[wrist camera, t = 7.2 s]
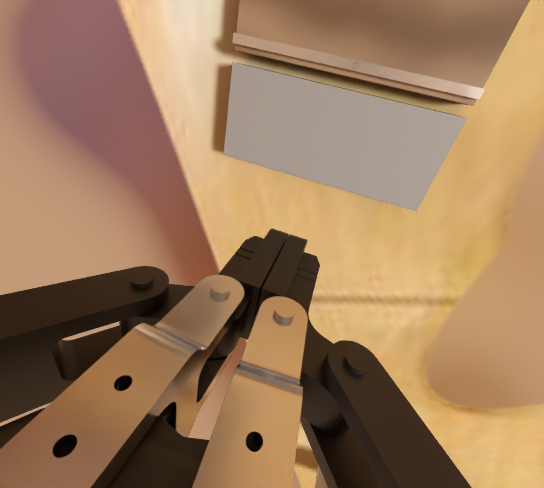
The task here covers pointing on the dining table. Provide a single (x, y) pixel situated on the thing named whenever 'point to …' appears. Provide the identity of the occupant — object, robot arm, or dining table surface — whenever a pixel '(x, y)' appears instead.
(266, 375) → the robot arm
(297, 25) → the glossy brown slab
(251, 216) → the dining table surface
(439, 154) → the slate plank
